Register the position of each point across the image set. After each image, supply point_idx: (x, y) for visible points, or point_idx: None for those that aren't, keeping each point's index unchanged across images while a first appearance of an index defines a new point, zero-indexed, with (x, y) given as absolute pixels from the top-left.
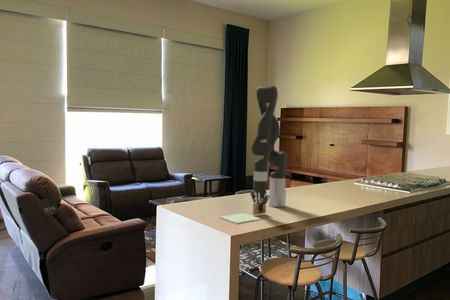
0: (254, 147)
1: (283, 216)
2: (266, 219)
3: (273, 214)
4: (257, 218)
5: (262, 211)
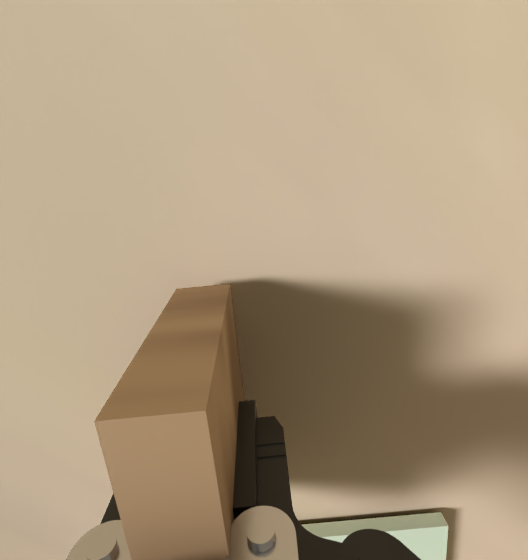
0: None
1: (480, 44)
2: (452, 427)
3: (267, 121)
4: (418, 553)
5: (236, 377)
